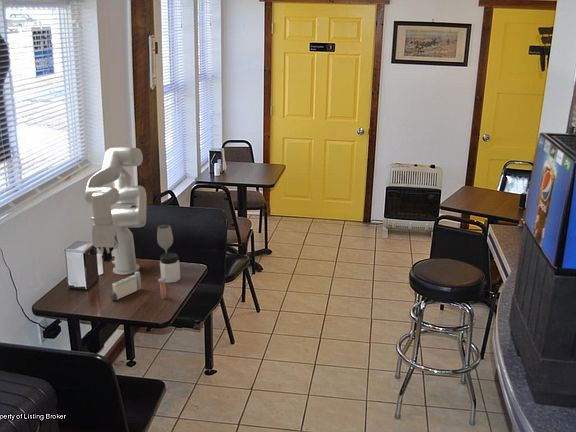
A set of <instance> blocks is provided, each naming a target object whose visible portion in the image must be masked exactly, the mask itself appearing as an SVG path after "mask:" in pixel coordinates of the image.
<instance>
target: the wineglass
mask: <svg viewBox="0 0 576 432" xmlns="http://www.w3.org/2000/svg"><path fill="white" fill-rule="evenodd" d="M156 232H157V233H156V241H157V242H156V243H157V244H158V246H159V247H160V248H162V249H163V250H164V251H165V253H168V249H169V248H170V247H172V245H173V243H174V235H173V231H172V227H171V225H169V224H161V225H158V227H157V231H156Z"/></svg>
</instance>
